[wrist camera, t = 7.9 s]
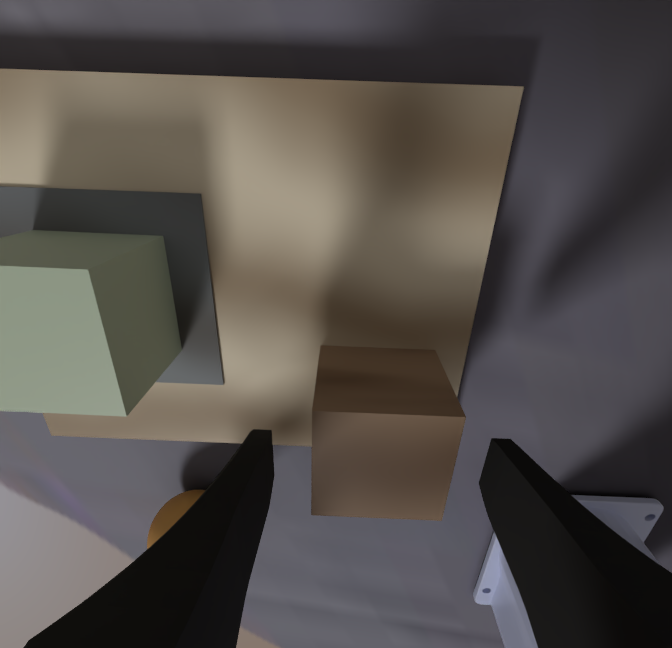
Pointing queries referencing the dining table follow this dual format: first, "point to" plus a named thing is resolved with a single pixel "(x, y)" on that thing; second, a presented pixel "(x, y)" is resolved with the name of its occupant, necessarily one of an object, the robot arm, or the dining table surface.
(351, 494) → the walnut block
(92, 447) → the dining table surface
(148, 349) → the sage block
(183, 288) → the baseplate
